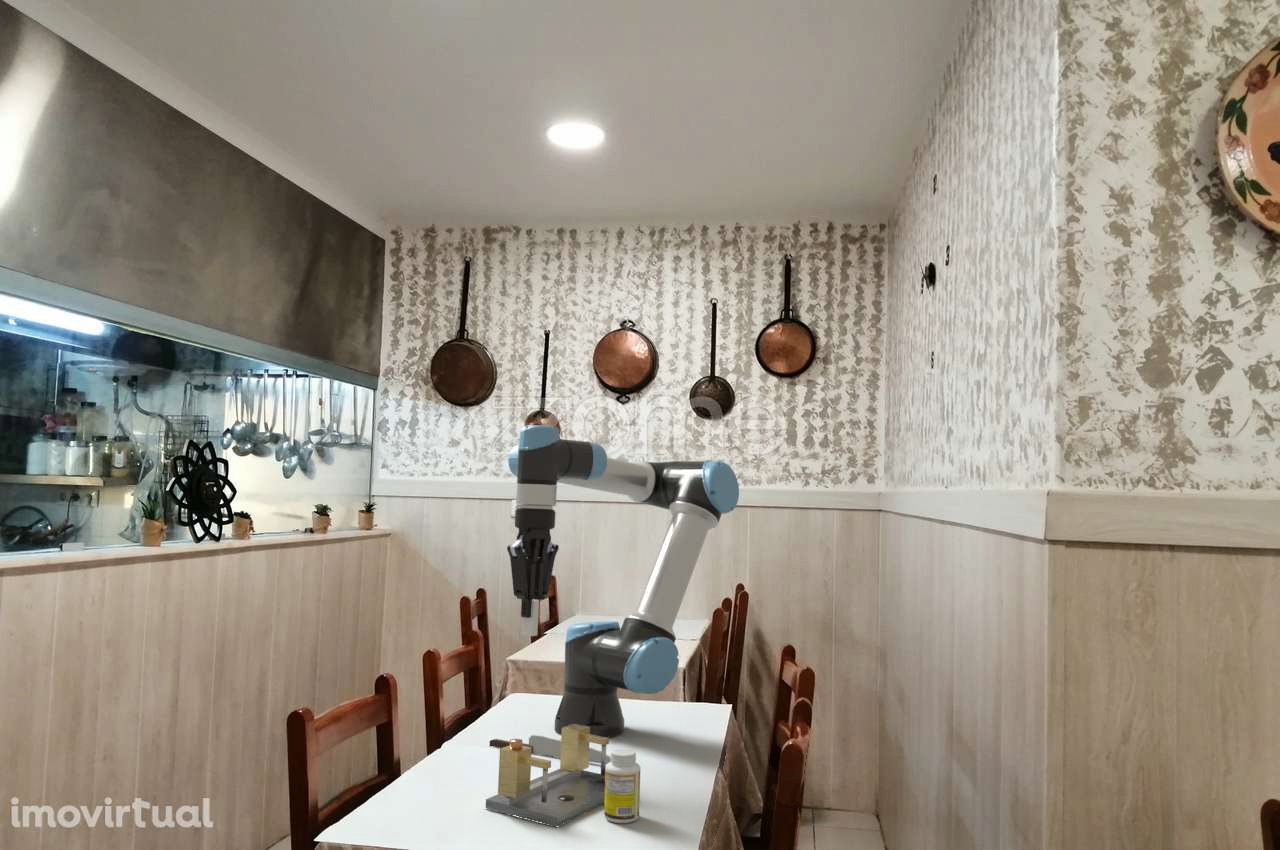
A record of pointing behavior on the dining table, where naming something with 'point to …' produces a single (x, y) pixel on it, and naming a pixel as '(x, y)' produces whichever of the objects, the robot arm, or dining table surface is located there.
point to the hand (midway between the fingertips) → (529, 634)
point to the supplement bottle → (622, 787)
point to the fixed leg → (579, 748)
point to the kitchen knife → (549, 747)
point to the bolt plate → (555, 797)
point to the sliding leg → (519, 770)
